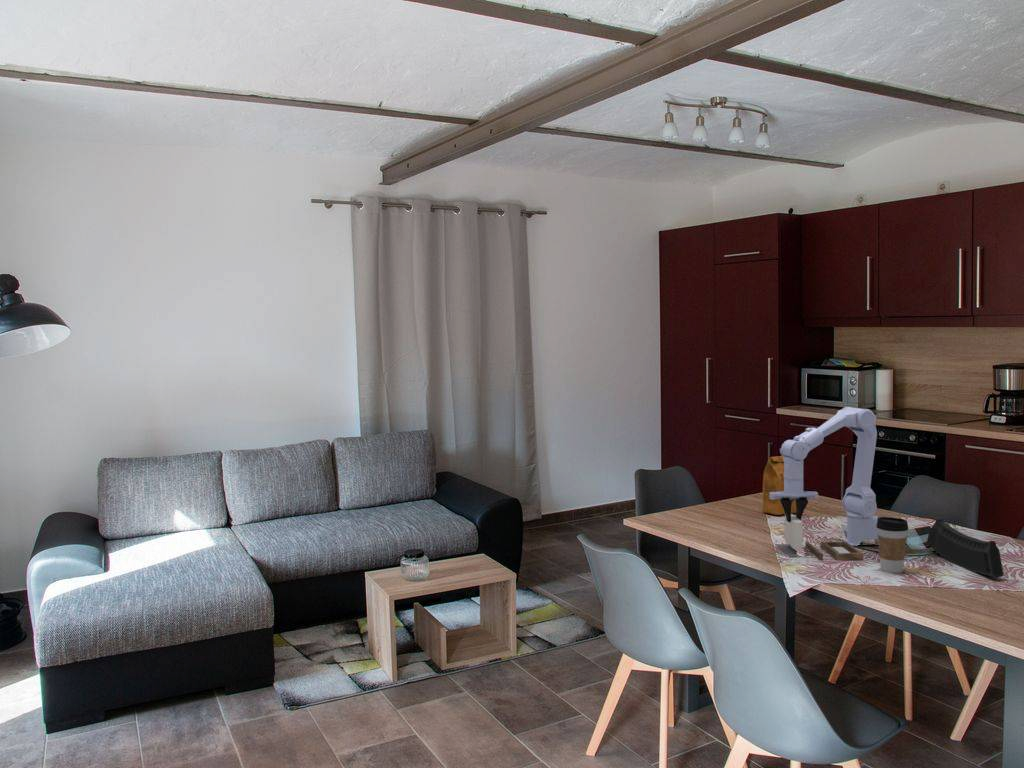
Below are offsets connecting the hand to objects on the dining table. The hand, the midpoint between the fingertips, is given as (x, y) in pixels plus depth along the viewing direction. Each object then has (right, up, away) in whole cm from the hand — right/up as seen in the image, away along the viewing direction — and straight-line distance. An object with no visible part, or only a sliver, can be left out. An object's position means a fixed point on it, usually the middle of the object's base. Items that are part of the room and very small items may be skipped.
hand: (793, 521), depth 258 cm
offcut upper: (+14, -9, -3) cm, 17 cm away
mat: (0, -9, +1) cm, 10 cm away
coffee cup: (+21, -11, -21) cm, 32 cm away
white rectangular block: (0, -7, 0) cm, 8 cm away
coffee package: (+13, -6, +51) cm, 53 cm away
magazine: (+43, -10, -18) cm, 48 cm away
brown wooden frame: (+11, -10, -4) cm, 15 cm away
